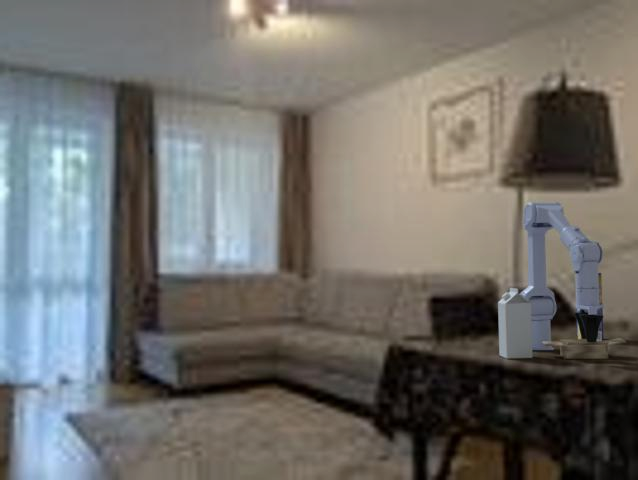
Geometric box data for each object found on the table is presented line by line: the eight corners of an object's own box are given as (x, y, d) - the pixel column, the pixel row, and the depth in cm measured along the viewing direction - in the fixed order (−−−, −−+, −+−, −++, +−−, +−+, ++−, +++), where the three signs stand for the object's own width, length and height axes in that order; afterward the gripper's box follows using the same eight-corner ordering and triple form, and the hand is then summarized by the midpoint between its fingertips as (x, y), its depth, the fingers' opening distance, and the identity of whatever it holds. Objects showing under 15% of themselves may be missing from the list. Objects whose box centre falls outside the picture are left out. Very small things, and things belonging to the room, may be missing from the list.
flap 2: (626, 341, 188) (626, 342, 188) (619, 338, 195) (620, 339, 195) (608, 343, 189) (608, 345, 189) (602, 340, 196) (603, 342, 196)
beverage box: (598, 338, 237) (596, 272, 238) (603, 341, 226) (601, 273, 227) (577, 338, 239) (575, 272, 239) (581, 341, 228) (578, 273, 229)
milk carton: (524, 355, 199) (522, 287, 200) (532, 358, 192) (530, 288, 193) (499, 355, 199) (497, 288, 200) (506, 359, 192) (504, 289, 192)
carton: (546, 358, 191) (545, 344, 191) (540, 352, 204) (540, 339, 204) (608, 359, 188) (607, 344, 188) (598, 352, 201) (598, 339, 201)
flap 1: (566, 344, 190) (566, 345, 190) (568, 341, 186) (568, 342, 186) (606, 344, 188) (606, 345, 188) (609, 341, 184) (609, 342, 184)
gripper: (609, 289, 177) (611, 343, 177) (597, 287, 192) (599, 337, 191) (579, 289, 179) (581, 343, 178) (570, 287, 193) (572, 337, 193)
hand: (588, 340), depth 185 cm, fingers open, 7 cm apart
